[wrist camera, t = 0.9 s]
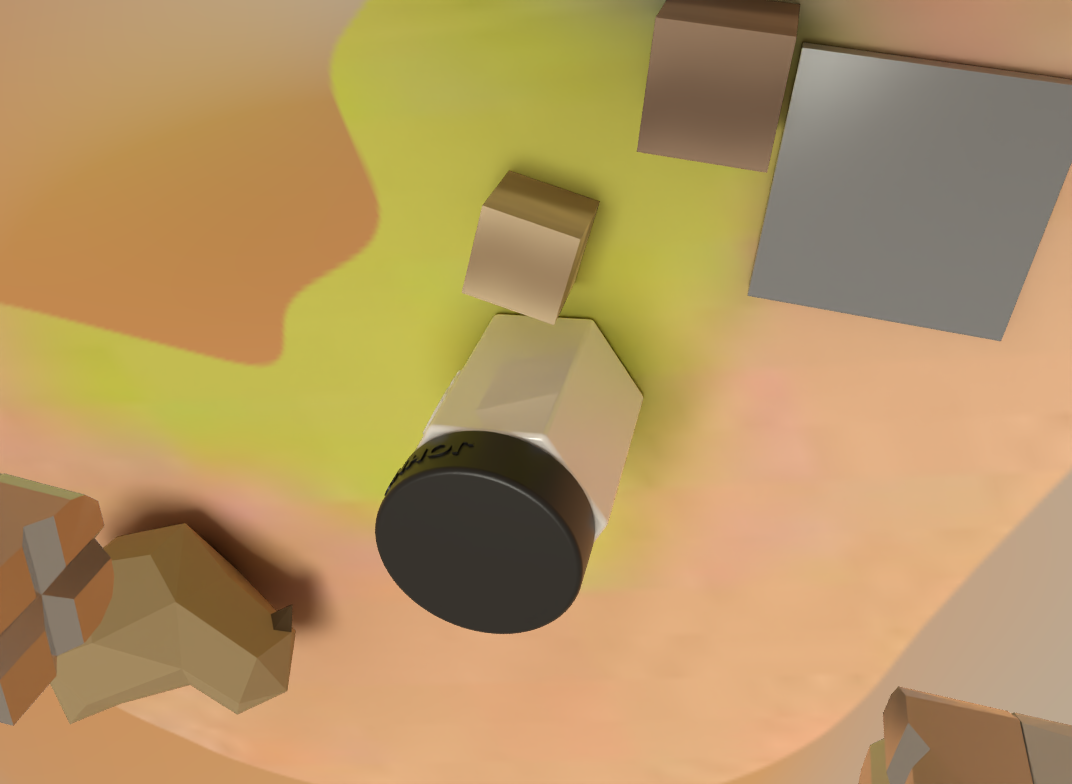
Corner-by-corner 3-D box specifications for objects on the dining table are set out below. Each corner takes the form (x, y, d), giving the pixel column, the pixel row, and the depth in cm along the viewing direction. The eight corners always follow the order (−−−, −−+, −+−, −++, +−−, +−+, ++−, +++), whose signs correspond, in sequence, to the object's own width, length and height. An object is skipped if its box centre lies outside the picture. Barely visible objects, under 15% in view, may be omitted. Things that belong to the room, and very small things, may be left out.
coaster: (802, 42, 36) (802, 47, 35) (1095, 82, 34) (1100, 89, 34) (748, 287, 41) (747, 295, 41) (998, 331, 40) (1000, 341, 39)
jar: (512, 271, 44) (421, 422, 34) (671, 362, 44) (627, 535, 34) (437, 410, 49) (340, 575, 39) (580, 490, 49) (520, 672, 40)
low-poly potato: (79, 553, 62) (133, 730, 62) (-48, 587, 52) (16, 801, 51) (294, 481, 60) (352, 663, 60) (208, 500, 49) (278, 723, 49)
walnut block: (674, -13, 36) (655, 17, 32) (800, 4, 35) (796, 36, 31) (657, 109, 38) (636, 151, 34) (773, 127, 38) (766, 172, 34)
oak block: (509, 169, 41) (482, 205, 38) (600, 200, 41) (580, 239, 38) (489, 252, 44) (461, 292, 40) (574, 282, 43) (554, 325, 40)
